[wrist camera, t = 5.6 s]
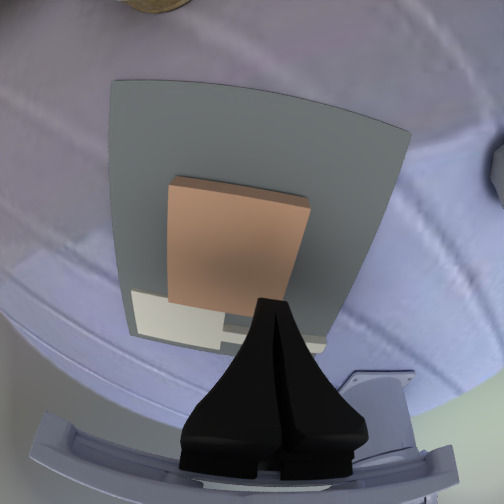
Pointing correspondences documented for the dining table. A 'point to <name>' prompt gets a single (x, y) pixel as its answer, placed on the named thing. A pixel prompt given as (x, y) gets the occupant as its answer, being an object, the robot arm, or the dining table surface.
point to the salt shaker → (498, 172)
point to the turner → (193, 323)
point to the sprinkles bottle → (154, 5)
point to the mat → (249, 182)
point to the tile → (230, 244)
